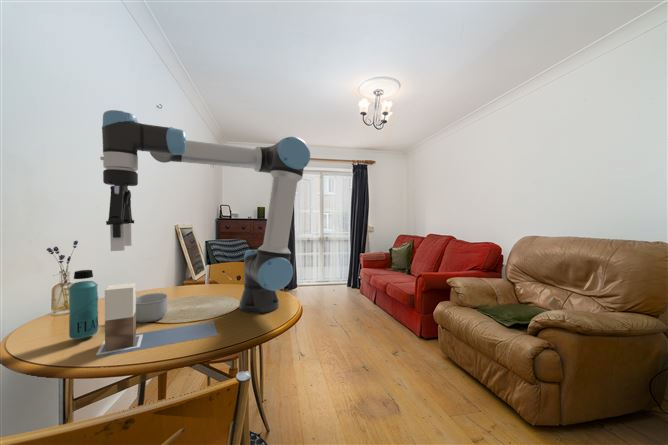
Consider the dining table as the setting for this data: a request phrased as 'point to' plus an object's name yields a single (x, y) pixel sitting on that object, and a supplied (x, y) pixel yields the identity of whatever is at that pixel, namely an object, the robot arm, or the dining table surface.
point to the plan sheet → (164, 338)
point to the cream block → (120, 301)
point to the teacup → (151, 307)
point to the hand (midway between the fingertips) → (122, 248)
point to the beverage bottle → (83, 306)
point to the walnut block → (120, 333)
